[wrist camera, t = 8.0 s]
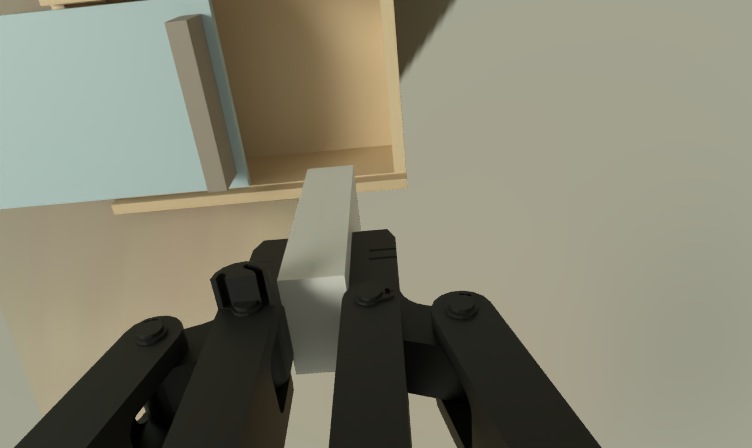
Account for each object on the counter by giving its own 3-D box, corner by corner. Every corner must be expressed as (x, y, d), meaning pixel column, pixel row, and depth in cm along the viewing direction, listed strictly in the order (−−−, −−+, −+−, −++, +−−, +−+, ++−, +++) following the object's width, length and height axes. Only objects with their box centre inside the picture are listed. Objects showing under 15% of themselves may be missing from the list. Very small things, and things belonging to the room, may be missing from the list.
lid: (-110, 26, 33) (-159, 35, 30) (209, -7, 32) (192, -2, 29) (-23, 207, 38) (-57, 231, 35) (250, 183, 37) (240, 204, 34)
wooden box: (95, -17, 37) (36, -8, 31) (387, -48, 37) (390, -45, 30) (152, 173, 44) (114, 214, 37) (402, 150, 43) (407, 188, 37)
